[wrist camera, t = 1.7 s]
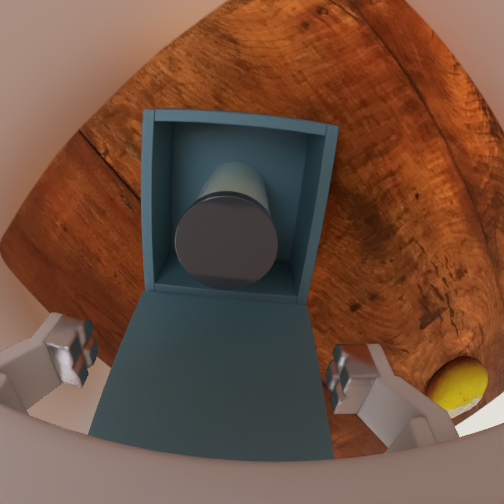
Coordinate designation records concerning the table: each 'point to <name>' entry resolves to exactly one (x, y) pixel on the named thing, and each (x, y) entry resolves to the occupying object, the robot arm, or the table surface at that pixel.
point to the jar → (228, 230)
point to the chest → (225, 151)
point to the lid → (217, 381)
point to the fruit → (458, 385)
